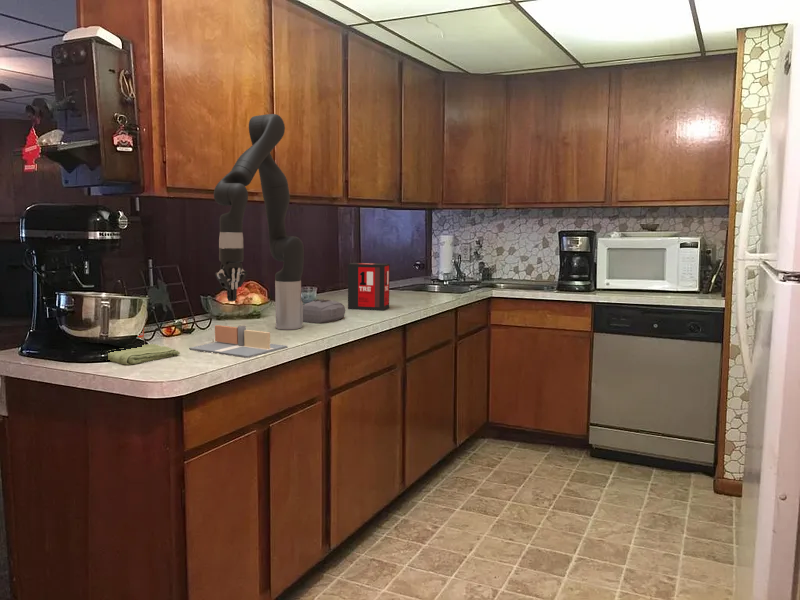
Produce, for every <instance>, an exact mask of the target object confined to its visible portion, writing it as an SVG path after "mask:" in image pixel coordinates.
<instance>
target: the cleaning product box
mask: <svg viewBox="0 0 800 600" xmlns="http://www.w3.org/2000/svg"><path fill="white" fill-rule="evenodd" d="M390 266H391V265H390V263H379V262H378V263H377V262H376V263H372V262H370V263H369V262H351V263H347V309H348V310H355V311H356V310H357V311H358V310H361V311H378V312H381V311H382V312H384V311H387V310H388V309H390Z"/></svg>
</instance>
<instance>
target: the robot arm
mask: <svg viewBox="0 0 800 600" xmlns="http://www.w3.org/2000/svg"><path fill="white" fill-rule="evenodd" d="M248 121H249V122H248V133H249V138H250V142H251V146H250V147H249V148H248V149H246V150H245V151H243V153H242V154H241V155H240V156H239V157H238V158H237V160H236V161H235V163H234V165H233V167H232V169H231V171H229V172H227V173H226V174H225V176H224V177H223V178H222V179H220V180H219V181H218V183H217V184H216V185H215V187H214V191H213V199H214V201H215V202H216V203H217V204H218V205H220V206H226V207H227V206H228V207H230V206H231V207H230V209H229V211H228V212H226V213H225V212H224V213H222V214H221V215H220V217H219V239H218V251H219V253H218V260H219V262H220V263H221V264H220V270H219V271H218V272H215V273H214V276H215V277H216V280H217V282H218V283H219V284H220V286H221V288H224V289H226V290H227V291H226V298H227V301H228V302H235V301H237V298H238V297H237V296H238V295H237V294H238V293H237V290H238V288H240V287H242V285H243V283H244V281H245V280H246V277H247V276H248V271H247V270H244V268H243V264H242V263H243V262H244V260H245V259H244V234H243V233H244V231H243V229H244V228H243V220H244V215H245V212H246V208H247V204H248V200H249V192H248V189H247V188H246V187H247V186H249V185H250V184H251V183H252V181H253V179H254V177H255V175H256V173H257V172H258V175H259V179H260V185H261V186H260V187H261V193H262V197H263V202H264V206H265V209H264V210H265V215H266V221H267V231H268V242H269V243H268V245H269V251H270V254H271V256H272V258H273V259H274V260H275V261H277V262H283V265H282V268H281V269H280V270H279V271H276V273H275V275H274V279H275V281H274V284H275V285H274V287H275V288H274V289H275V290H274V291H275V292H274V293H275V299H274V300H275V301H274V302H275V328H276V329H278V330H298V329H302V327H304V322H303V305H304V304H303V300H302V275H303V272H304V262H305V260H304V259H305V258H304V257H305V250H304V249H305V248H304V243H303V241H302V240H301V238H300V237H297V236H292V235H287V231H286V215H287V211H288V208H289V206H290V202H291V201H290V200H291V195H290V190H289V189H290V188H289V184H288V179H287V177H286V175H285V173H284V172H283V171H282V169H281V168H280V167H279V165H278V164H277V163H276V161H275V160H274V158H273V156H272V154H271V152H272V151H273V149H274V148H276V146H277V145H278V144H279V143H280V141H281V140H282V139H283V138H284V135H285V129H286V127H285V123H284V120H283V118H282V116H280V115H279V114H276V113H269V114H268V113H266V114H261V115H260V114H258V115H254V116H252V117H250V119H249V120H248Z"/></svg>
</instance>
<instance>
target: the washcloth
mask: <svg viewBox="0 0 800 600" xmlns="http://www.w3.org/2000/svg"><path fill="white" fill-rule="evenodd" d="M180 354H181V353H180V351H179V350H176V348H172V347H168V346H166V345H162V346H161V345H159V344H156V343H149V344H145V343H144V345H142V347H137V348H131V349H126V350H121V351H114V352H110V353H108V360H110V361H109V362H112V363H118V364H121V365H125V366H133V365H139V364H145V363H148V361H149V362H153V360H154V361H157V360H162V358H163V359H167V358H171V357H172V356H173V357H177V356H178V355H180ZM176 355H177V356H176ZM144 362H145V363H144Z"/></svg>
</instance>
